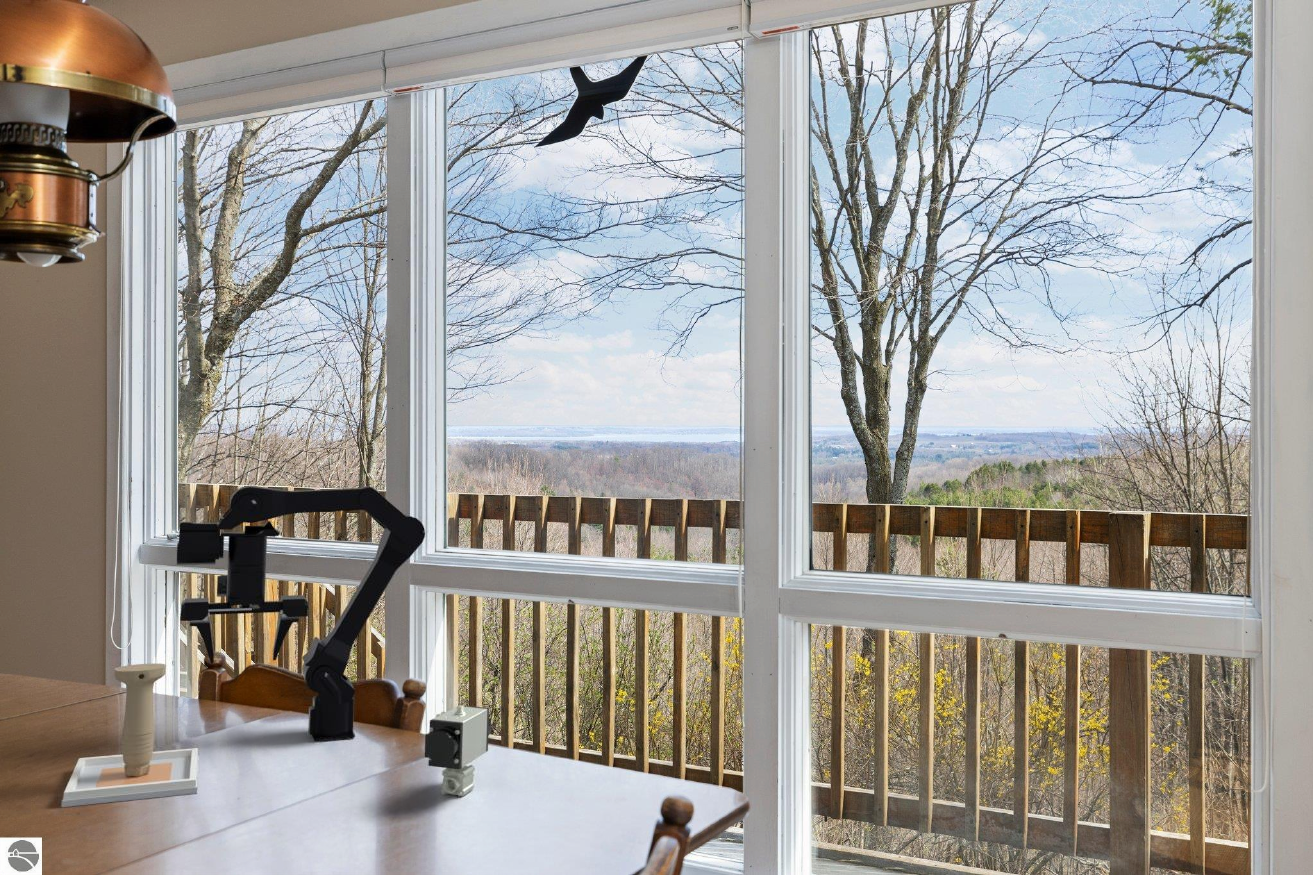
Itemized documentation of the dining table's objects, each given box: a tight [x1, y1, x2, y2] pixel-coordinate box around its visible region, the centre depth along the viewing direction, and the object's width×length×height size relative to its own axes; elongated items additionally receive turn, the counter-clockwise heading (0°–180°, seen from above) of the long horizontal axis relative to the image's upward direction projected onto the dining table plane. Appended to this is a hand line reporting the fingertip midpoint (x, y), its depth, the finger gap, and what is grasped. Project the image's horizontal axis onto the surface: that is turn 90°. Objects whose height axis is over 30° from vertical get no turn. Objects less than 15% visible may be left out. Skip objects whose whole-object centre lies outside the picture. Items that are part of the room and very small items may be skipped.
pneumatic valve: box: [424, 704, 492, 797], centre depth 139 cm, size 6×12×12 cm, turn 164°
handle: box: [114, 663, 167, 777], centre depth 140 cm, size 5×6×15 cm
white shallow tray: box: [61, 747, 200, 808], centre depth 140 cm, size 16×16×2 cm
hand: (243, 661), depth 159 cm, fingers open, 9 cm apart
